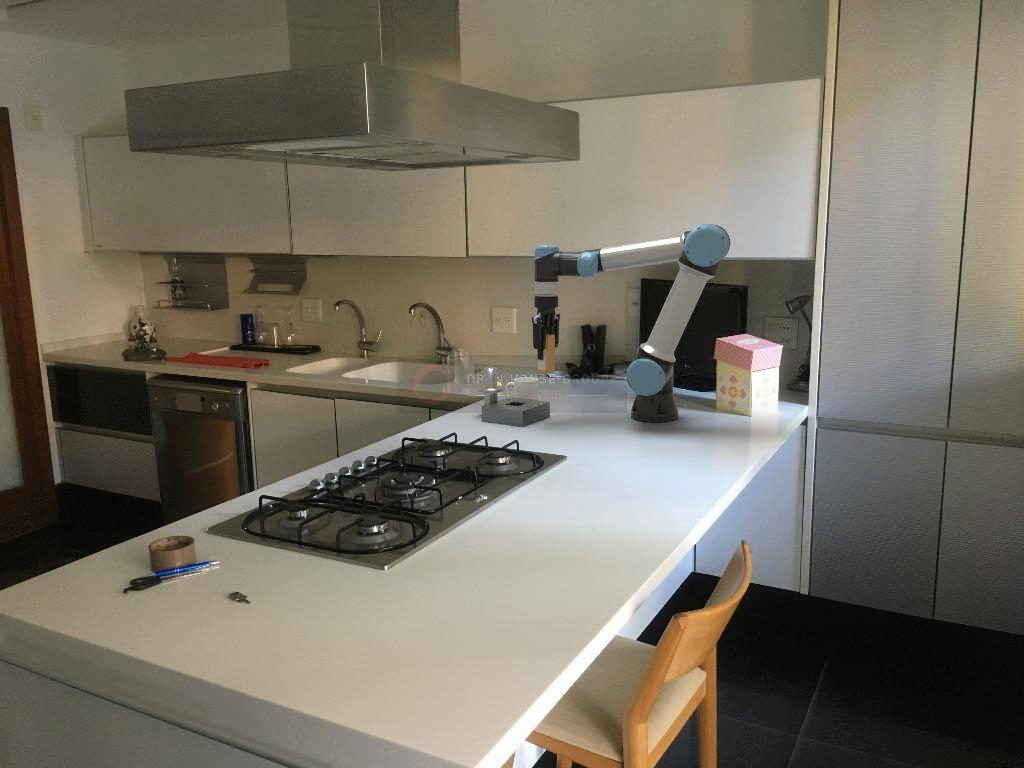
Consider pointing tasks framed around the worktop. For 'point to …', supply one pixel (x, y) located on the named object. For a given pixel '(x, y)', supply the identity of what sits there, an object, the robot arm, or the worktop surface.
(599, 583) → the worktop surface
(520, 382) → the cup
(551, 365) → the tall orange block
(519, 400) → the grey peg stand
